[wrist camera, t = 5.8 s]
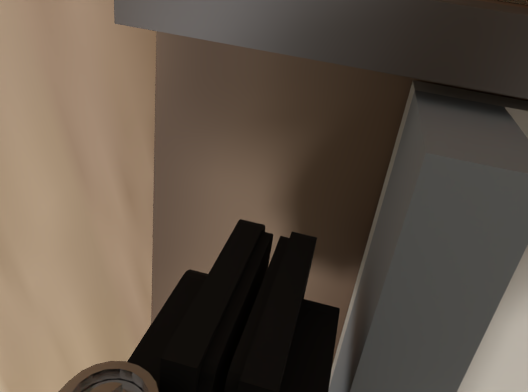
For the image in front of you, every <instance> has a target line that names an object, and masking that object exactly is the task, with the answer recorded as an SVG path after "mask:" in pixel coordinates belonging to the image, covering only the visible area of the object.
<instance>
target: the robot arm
mask: <svg viewBox="0 0 528 392" xmlns="http://www.w3.org/2000/svg"><path fill="white" fill-rule="evenodd" d="M272 241H273V234H272V233H268V232H265V225H263V224H259V223H255V222H251V221H247V220H242V219H240V220H239V221H238V223H237V224H236V226H235V228H234V230H233V231H232V233H231V235H230V237H229V238H228V240H227V242H226V244H225V245H224V247H223V249H222V251H221V252H220V254H219V256H218V258H217V260H216V261H215V263H214V265H213V267H212V268H211V270H210V272H209V274H206V273H202V272H198V271H195V270H191V269H189V270H187V271H186V272H185V273H184V275H183V276H182V278H181V279H180V281H179V282H178V284H177V285H176V287H175V288H174V290H173V292H172V293H171V295H170V296H169V298H168V299H167V301H166V302H165V304H164V306H163V307H162V309H161V310H160V312H159V313H158V315H157V316H156V318H155V319H154V321H153V323H152V324H151V326H150V327H149V329H148V330H147V332H146V333H145V335H144V337H143V338H142V340H141V341H140V343H139V344H138V346H137V347H136V349H135V351H134V352H133V354H132V355H131V357H130V358H129V360H128V361H127V362H125V361H109V362H104V363H100V364H95V365H93V366H91V367H89V368H87V369H85V370H82V371H81V372H80V373H78V374H77V375H76V376H74V377H73V378H72V379H71V380H69V381H68V382H67V383H66V385H65V386H64V387H63V388H62V389H61V390H60V391H59V392H328V391H329V384H330V377H331V370H332V363H333V355H334V348H335V341H336V334H337V327H338V320H339V312H340V308H337V307H333V306H329V305H326V304H322V303H318V302H314V301H310V300H306V299H304V295H305V291H306V286H307V282H308V277H309V273H310V268H311V264H312V259H313V255H314V250H315V246H316V241H317V237H313V236H309V235H305V234H301V233H297V232H292V233H291V235H290V238H288V237H284V236H280V238H279V241H278V243H277V246H276V248H275V251H274V254H273V256H272V259H271V261H270V264H269V259H270V253H271V247H272ZM268 265H269V266H268Z"/></svg>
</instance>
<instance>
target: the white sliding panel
mask: <svg viewBox="0 0 528 392" xmlns="http://www.w3.org/2000/svg"><path fill="white" fill-rule="evenodd" d="M328 392H528V101H524V100H518V99H513V98H507V97H502V96H497V95H491V94H486V93H480V92H475V91H469V90H464V89H458V88H453V87H448V86H442V85H437V84H431V83H426V82H420V81H415V80H413V82H412V85H411V89H410V92H409V96H408V99H407V103H406V106H405V110H404V114H403V117H402V121H401V124H400V128H399V131H398V135H397V138H396V142H395V145H394V149H393V153H392V156H391V160H390V163H389V167H388V170H387V174H386V177H385V181H384V184H383V188H382V192H381V195H380V199H379V202H378V206H377V209H376V213H375V216H374V220H373V223H372V227H371V231H370V234H369V238H368V241H367V245H366V248H365V252H364V255H363V259H362V262H361V266H360V270H359V273H358V277H357V280H356V284H355V287H354V291H353V294H352V298H351V302H350V305H349V309H348V312H347V316H346V319H345V323H344V326H343V330H342V333H341V337H340V341H339V344H338V348H337V351H336V355H335V358H334V362H333V365H332V370H331V377H330V384H329V391H328Z"/></svg>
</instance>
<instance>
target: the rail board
mask: <svg viewBox="0 0 528 392" xmlns="http://www.w3.org/2000/svg"><path fill="white" fill-rule="evenodd" d="M114 16H115V24H120V25H126V26H131V27H137V28H142V29H148V30H153V31H157V35H156V91H155V147H154V203H153V259H152V315H151V324H152V323H153V321H154V319H155V318H156V316H157V315H158V313H159V312H160V310H161V309H162V307H163V306H164V304H165V302H166V301H167V299H168V298H169V296H170V295H171V293H172V292H173V290H174V288H175V287H176V285H177V284H178V282H179V281H180V279H181V278H182V276H183V275H184V273H185V272H186V271H187V270H189V269H191V270H195V271H198V272H202V273H206V274H209V272H210V270H211V268H212V267H213V265H214V263H215V261H216V260H217V258H218V256H219V254H220V252H221V251H222V249H223V247H224V245H225V244H226V242H227V240H228V238H229V237H230V235H231V233H232V231H233V230H234V228H235V226H236V224H237V223H238V221H239V220H240V219H242V220H247V221H251V222H255V223H259V224H263V225H265V232H268V233H272V234H273V241H272V247H271V253H270V259H269V264H270V261H271V259H272V256H273V254H274V251H275V248H276V246H277V243H278V241H279V238H280V236H284V237H288V238H290V235H291V233H292V232H297V233H301V234H305V235H309V236H313V237H317V241H316V246H315V250H314V255H313V259H312V264H311V268H310V273H309V277H308V282H307V286H306V291H305V295H304V299H306V300H310V301H314V302H318V303H322V304H326V305H329V306H333V307H337V308H340V312H339V320H338V327H337V334H336V341H335V348H334V355H333V362H334V358H335V355H336V351H337V348H338V344H339V341H340V337H341V333H342V330H343V326H344V323H345V319H346V316H347V312H348V309H349V305H350V302H351V298H352V294H353V291H354V287H355V284H356V280H357V277H358V273H359V270H360V266H361V262H362V259H363V255H364V252H365V248H366V245H367V241H368V238H369V234H370V231H371V227H372V223H373V220H374V216H375V213H376V209H377V206H378V202H379V199H380V195H381V192H382V188H383V184H384V181H385V177H386V174H387V170H388V167H389V163H390V160H391V156H392V153H393V149H394V145H395V142H396V138H397V135H398V131H399V128H400V124H401V121H402V117H403V114H404V110H405V106H406V103H407V99H408V96H409V92H410V89H411V85H412V82H413V80H415V81H420V82H426V83H431V84H437V85H442V86H448V87H453V88H458V89H464V90H469V91H475V92H480V93H486V94H491V95H497V96H502V97H507V98H513V99H518V100H524V101H528V5H523V4H516V3H510V2H503V1H497V0H114ZM268 266H269V265H268ZM332 365H333V363H332Z"/></svg>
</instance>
